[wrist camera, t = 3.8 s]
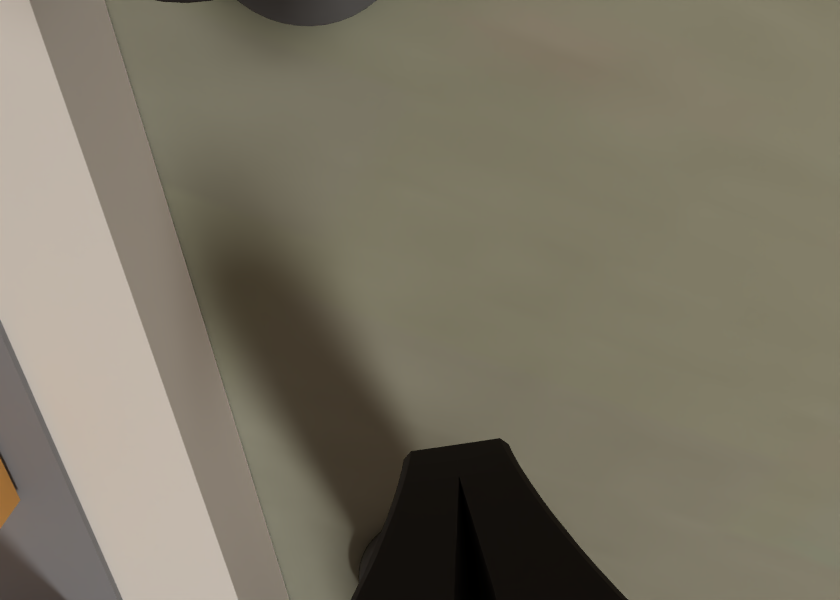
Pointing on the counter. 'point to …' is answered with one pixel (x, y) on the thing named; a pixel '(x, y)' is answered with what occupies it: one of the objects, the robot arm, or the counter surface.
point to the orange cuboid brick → (6, 495)
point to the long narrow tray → (106, 346)
